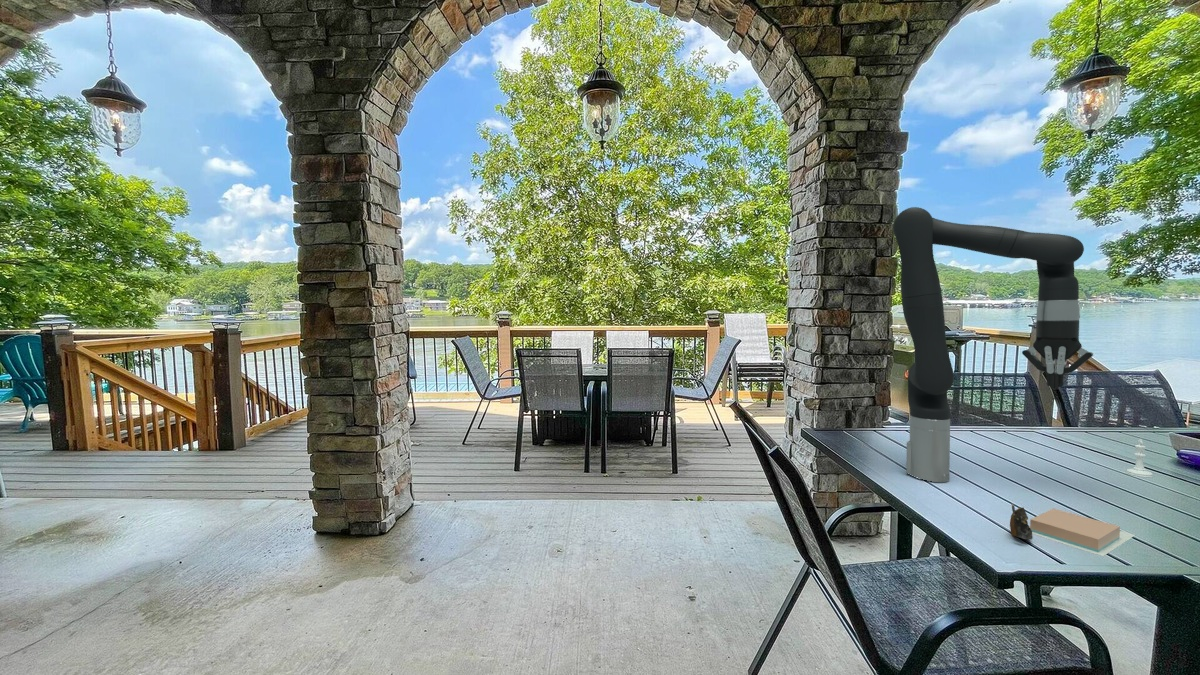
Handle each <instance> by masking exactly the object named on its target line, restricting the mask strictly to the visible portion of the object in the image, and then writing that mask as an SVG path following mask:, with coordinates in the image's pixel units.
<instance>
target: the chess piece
mask: <svg viewBox="0 0 1200 675" xmlns="http://www.w3.org/2000/svg"><path fill="white" fill-rule="evenodd" d="M1137 443H1138V444H1135V445H1134V448H1135V450H1136V452H1134V455H1135V456H1136V460H1135V466H1133V467H1132V468H1126V472H1125V473H1126V474H1127V475H1132V476H1135V477H1141V478H1153V477H1154V475H1153V474H1154V473H1152V472H1151V471H1148V470H1147V469H1146V468H1145V466H1144V465H1145V464H1144V458H1143V457H1146V456H1147V455H1146V454H1145V453H1144V452H1145V450H1146V448H1147V446H1145V445H1143V444H1144V441H1143V439H1142V438H1139V439H1138V440H1137Z"/></svg>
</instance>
